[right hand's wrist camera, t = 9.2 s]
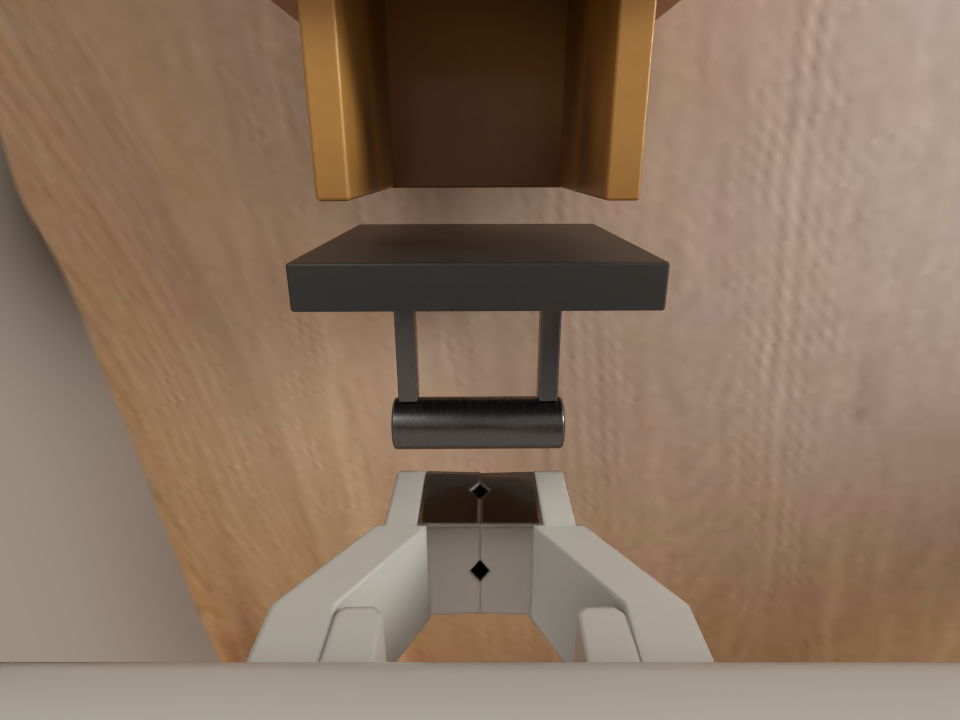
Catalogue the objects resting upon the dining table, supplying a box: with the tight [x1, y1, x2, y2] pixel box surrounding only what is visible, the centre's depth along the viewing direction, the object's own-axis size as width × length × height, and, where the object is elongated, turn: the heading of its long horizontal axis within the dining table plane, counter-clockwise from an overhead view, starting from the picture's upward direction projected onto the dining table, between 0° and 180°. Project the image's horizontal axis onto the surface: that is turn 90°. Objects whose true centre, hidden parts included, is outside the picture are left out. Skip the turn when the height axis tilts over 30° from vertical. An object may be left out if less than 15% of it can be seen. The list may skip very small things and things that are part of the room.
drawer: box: [286, 0, 670, 449], centre depth 16 cm, size 23×9×9 cm, turn 0°
